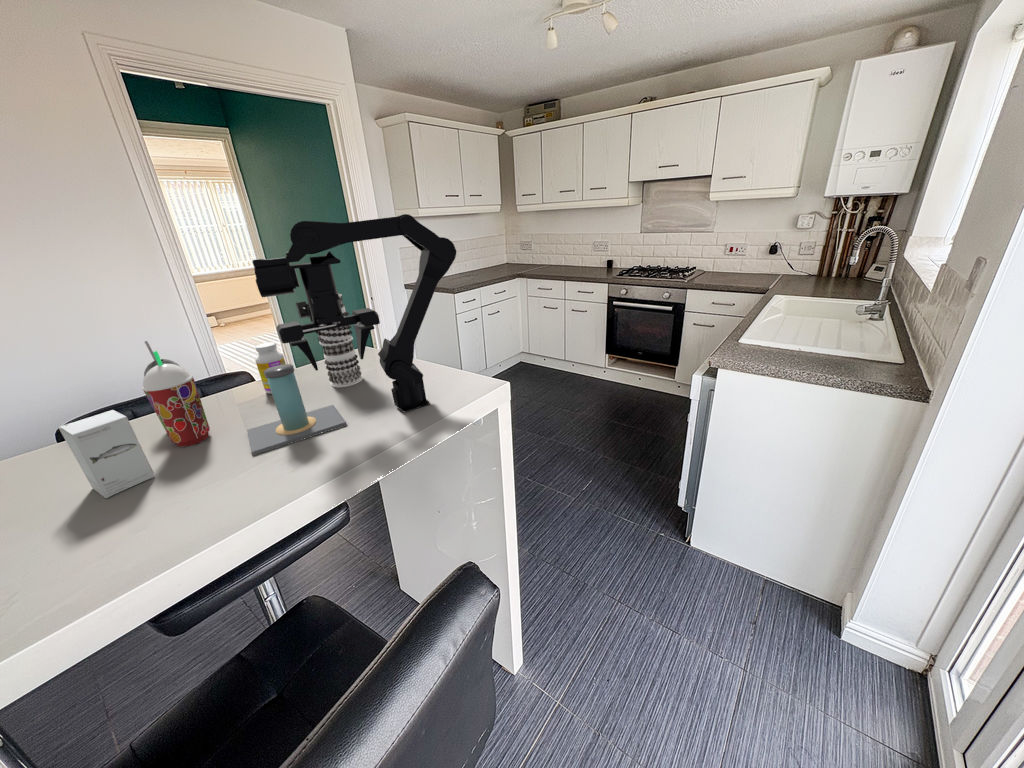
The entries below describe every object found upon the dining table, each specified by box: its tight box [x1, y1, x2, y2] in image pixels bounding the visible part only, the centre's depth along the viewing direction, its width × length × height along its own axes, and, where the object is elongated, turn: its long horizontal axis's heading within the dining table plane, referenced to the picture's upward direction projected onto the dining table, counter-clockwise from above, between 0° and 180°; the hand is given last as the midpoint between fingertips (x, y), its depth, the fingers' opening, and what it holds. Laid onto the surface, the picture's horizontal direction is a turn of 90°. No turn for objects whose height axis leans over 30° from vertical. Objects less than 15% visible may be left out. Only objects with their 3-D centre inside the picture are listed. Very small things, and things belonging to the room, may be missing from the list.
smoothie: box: [141, 350, 211, 448], centre depth 84 cm, size 8×8×20 cm
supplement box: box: [58, 409, 156, 499], centre depth 72 cm, size 7×7×13 cm
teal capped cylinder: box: [264, 363, 309, 431], centre depth 86 cm, size 5×5×13 cm
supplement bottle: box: [254, 341, 287, 395], centre depth 110 cm, size 7×7×13 cm
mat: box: [246, 404, 348, 456], centre depth 89 cm, size 18×12×1 cm, turn 125°
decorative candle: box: [315, 291, 363, 388], centre depth 109 cm, size 9×9×25 cm
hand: (339, 364), depth 87 cm, fingers open, 9 cm apart
